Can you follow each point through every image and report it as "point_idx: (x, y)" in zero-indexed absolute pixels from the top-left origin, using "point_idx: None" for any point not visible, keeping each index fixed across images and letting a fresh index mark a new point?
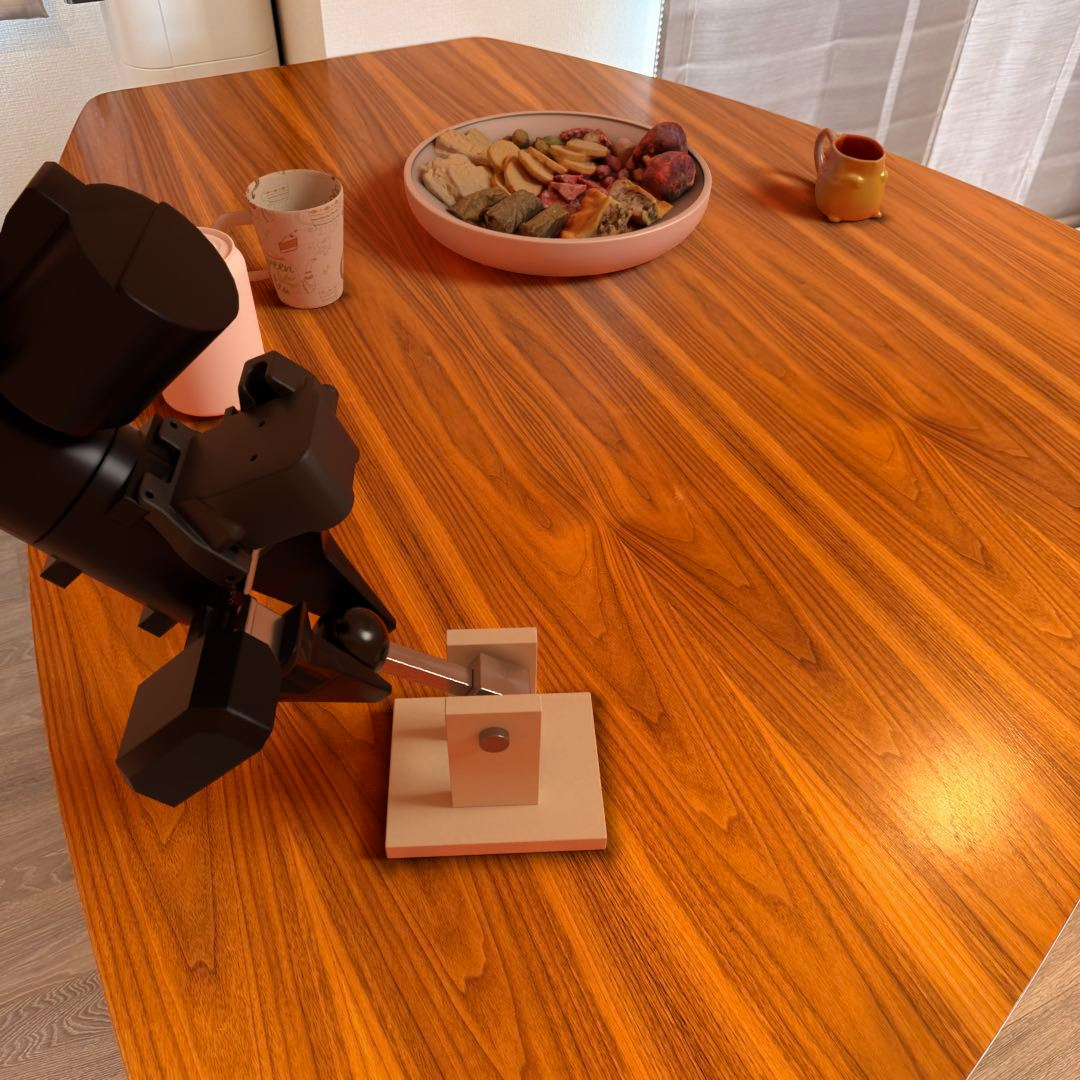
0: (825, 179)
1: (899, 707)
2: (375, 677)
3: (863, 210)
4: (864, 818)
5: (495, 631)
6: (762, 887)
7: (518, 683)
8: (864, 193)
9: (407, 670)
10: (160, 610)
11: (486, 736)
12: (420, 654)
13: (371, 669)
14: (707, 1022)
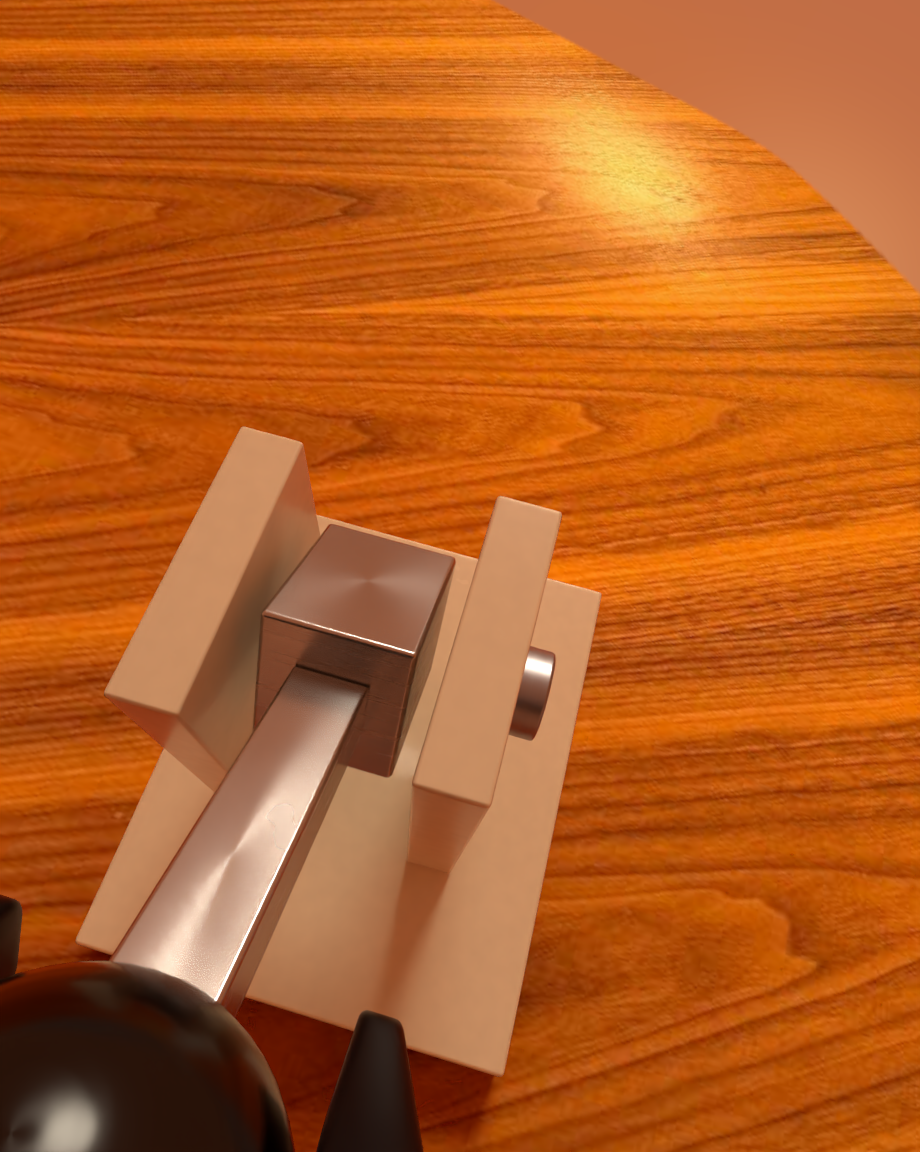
0: None
1: (474, 156)
2: (368, 1118)
3: None
4: (629, 269)
5: (199, 539)
6: (705, 424)
7: (384, 559)
8: None
9: (275, 906)
10: None
11: (541, 705)
12: (213, 825)
13: (326, 1141)
14: (896, 578)
